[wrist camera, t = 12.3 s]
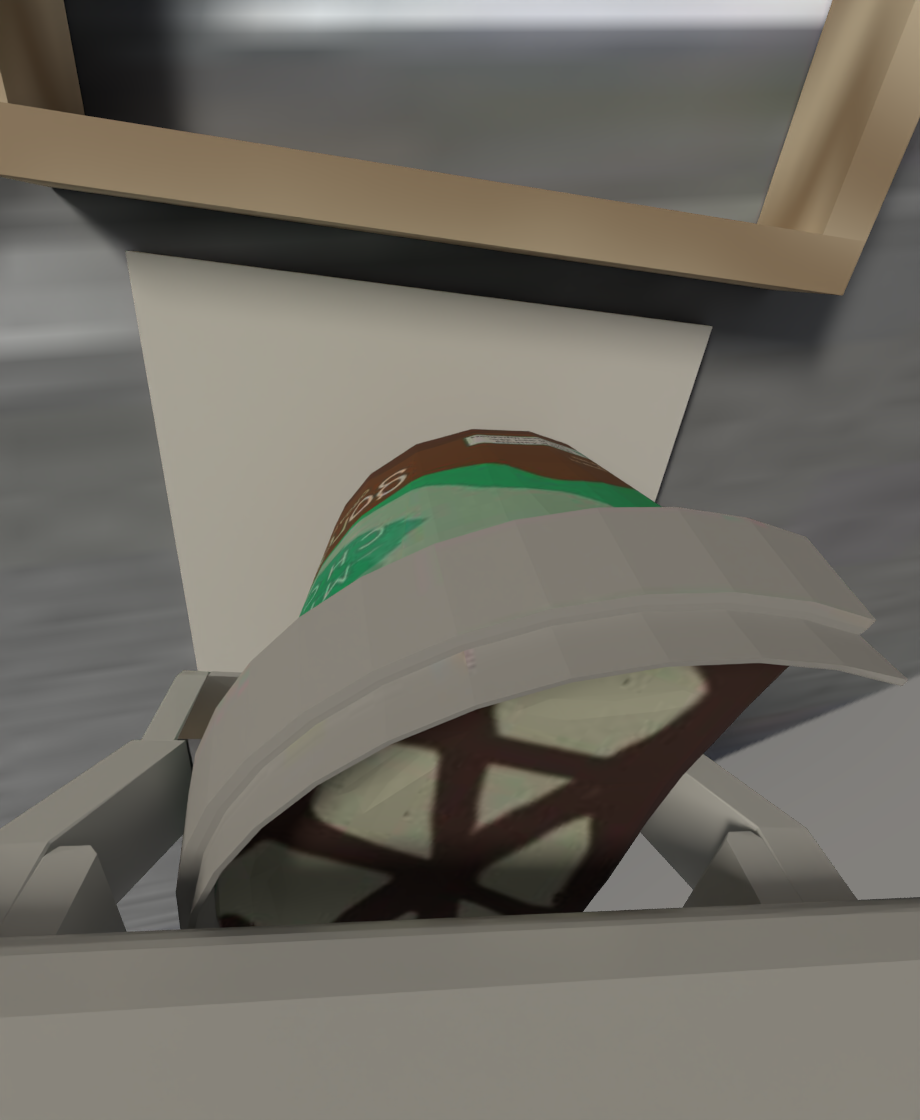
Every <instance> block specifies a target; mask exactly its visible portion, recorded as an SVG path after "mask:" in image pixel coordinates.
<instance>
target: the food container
mask: <svg viewBox="0 0 920 1120" xmlns="http://www.w3.org/2000/svg"><path fill="white" fill-rule="evenodd" d="M875 621H876V620H875V619H874V617H873V616H872V615H871V614H870V613H869V611H868V610H867V609H866V608H865V607H864V605H863V604H862V603H861V602H860V601H859V599H858V598H857V597H856V596H855V595H854V594H853V592H852V591H851V590H850V589H849V588H848V586H847V585H846V584H845V583H844V582H843V580H842V579H841V578H840V577H839V576H838V574H837V573H836V572H835V571H834V570H833V569H832V567H831V566H830V565H829V564H828V563H827V561H826V560H825V559H824V558H823V557H822V555H821V554H820V553H819V552H818V551H817V549H816V548H815V547H814V546H813V545H812V543H811V542H810V541H809V540H808V539H807V538H806V537H804V536H801V535H798V534H795V533H792V532H789V531H786V530H783V529H780V528H777V527H774V526H771V525H768V524H765V523H762V522H759V521H756V520H753V519H750V518H746V517H739V516H732V515H726V514H719V513H713V512H706V511H699V510H693V509H686V508H680V507H661V506H660V505H658V504H657V503H655V502H654V501H652V500H651V499H649V498H648V497H646V496H645V495H643V494H642V493H640V492H639V491H637V490H636V489H634V488H633V487H631V486H630V485H628V484H627V483H625V482H624V481H622V480H621V479H619V478H618V477H616V476H615V475H613V474H612V473H610V472H609V471H607V470H606V469H604V468H603V467H601V466H600V465H598V464H597V463H595V462H593V461H592V460H590V459H589V458H587V457H586V456H584V455H583V454H581V453H580V452H578V451H577V450H575V449H574V448H572V447H571V446H569V445H568V444H565V443H562V442H559V441H556V440H554V439H551V438H548V437H545V436H542V435H539V434H536V433H533V432H530V431H512V430H486V429H470V430H466V431H462V432H459V433H455V434H451V435H448V436H444V437H440V438H437V439H433V440H430V441H426V442H422V443H419V444H416V445H414V446H413V447H411V448H409V449H408V450H406V451H405V452H403V453H402V454H400V455H399V456H397V457H396V458H394V459H393V460H391V461H390V462H388V463H387V464H385V465H384V466H382V467H380V468H379V469H377V470H376V471H374V472H373V473H371V474H370V475H369V476H368V478H367V479H366V480H365V481H364V483H363V484H362V485H361V486H360V488H359V489H358V490H357V491H356V493H355V494H354V495H353V496H352V498H351V499H350V500H349V501H348V502H347V504H346V505H345V507H344V509H343V511H342V513H341V515H340V517H339V519H338V521H337V523H336V525H335V527H334V530H333V532H332V535H331V538H330V540H329V543H328V545H327V548H326V550H325V553H324V555H323V558H322V560H321V563H320V565H319V568H318V570H317V573H316V575H315V578H314V580H313V583H312V585H311V588H310V590H309V593H308V595H307V598H306V601H305V603H304V606H303V608H302V611H301V613H300V616H299V618H298V619H296V620H295V621H294V622H293V623H292V624H291V625H290V626H289V627H288V628H287V629H286V630H284V631H283V632H282V633H281V634H280V635H279V636H278V637H277V638H276V639H275V640H274V641H272V642H271V643H270V644H269V645H268V646H267V647H266V648H265V649H264V650H263V651H262V652H260V653H259V654H258V655H257V656H256V657H255V658H254V659H253V660H252V661H251V662H250V663H249V664H248V665H247V667H246V668H245V669H244V671H243V672H242V673H241V675H240V676H239V677H238V679H237V680H236V681H235V683H234V684H233V685H232V687H231V688H230V689H229V691H228V692H227V694H226V695H225V696H224V698H223V699H222V700H221V702H220V703H219V704H218V706H217V707H216V708H215V711H214V713H213V715H212V717H211V720H210V722H209V724H208V726H207V729H206V731H205V733H204V735H203V738H202V740H201V742H200V744H199V746H198V749H197V751H196V753H195V759H194V765H193V771H192V777H191V783H190V788H189V794H188V802H187V809H186V817H185V825H184V833H183V841H182V848H181V856H180V864H179V872H178V879H177V887H176V898H177V906H178V914H179V922H180V929H204V928H227V927H250V926H273V925H296V924H319V923H342V922H365V921H388V920H411V919H435V918H458V917H482V916H505V915H528V914H552V913H575V912H583V911H584V909H585V908H586V907H587V906H588V904H589V903H590V901H591V900H592V899H593V897H594V896H595V895H596V894H597V892H598V891H599V890H600V889H601V888H602V886H603V885H604V884H605V883H606V881H607V880H608V879H609V877H610V876H611V874H612V873H613V871H614V870H615V868H616V867H617V865H618V864H619V862H620V861H621V859H622V858H623V856H624V855H625V853H626V852H627V851H628V849H629V848H630V846H631V845H632V843H633V842H634V840H635V839H636V837H637V836H638V834H639V833H640V831H641V830H642V828H643V827H644V825H645V824H646V822H647V821H648V820H649V819H650V817H651V816H652V815H653V813H654V812H655V811H656V809H657V808H658V807H659V806H660V804H661V803H662V802H663V800H664V799H665V798H666V797H667V795H668V794H669V793H670V791H671V790H672V789H673V787H674V786H675V785H676V784H677V782H678V781H679V780H680V778H681V777H682V776H683V775H684V774H685V773H686V772H687V770H688V769H689V768H690V767H691V766H692V765H693V764H694V763H695V762H696V761H697V760H698V759H699V758H700V757H701V756H702V755H703V753H704V752H705V751H706V750H707V749H708V748H709V747H710V746H711V745H712V744H713V743H714V742H715V741H716V740H717V739H718V738H719V736H720V735H721V734H722V733H723V732H724V731H725V730H726V729H727V728H728V727H729V726H730V725H731V724H732V723H733V722H734V720H735V719H736V718H737V717H738V716H739V715H740V714H741V713H742V712H743V711H744V710H745V709H746V708H747V707H748V706H749V705H750V704H751V703H752V702H753V701H754V700H755V699H756V698H757V697H758V696H759V695H760V694H761V693H762V692H763V691H764V690H765V689H766V688H767V687H768V686H769V685H770V684H771V683H772V682H773V681H774V680H775V679H776V678H777V677H778V676H779V675H780V674H781V673H782V672H783V671H784V670H785V669H786V668H787V667H789V666H798V667H809V668H820V669H831V670H840V671H844V672H848V673H852V674H856V675H859V676H863V677H867V678H871V679H875V680H879V681H883V682H887V683H891V684H895V685H899V686H903V685H904V684H905V683H906V682H907V681H908V679H907V678H906V677H905V676H903V675H902V674H901V673H900V672H899V671H898V670H897V669H896V668H895V667H894V666H892V665H891V664H890V663H889V662H888V661H887V660H886V659H885V658H884V657H883V656H882V655H880V654H879V653H878V652H877V651H876V650H875V649H874V648H873V647H872V646H871V645H869V644H868V643H867V642H866V641H865V640H864V639H863V638H862V637H861V636H860V634H861V633H863V632H864V631H865V630H867V629H868V628H869V627H870V626H871V625H872V624H873V623H874V622H875Z"/></svg>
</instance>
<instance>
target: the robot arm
mask: <svg viewBox="0 0 920 1120" xmlns="http://www.w3.org/2000/svg"><path fill="white" fill-rule="evenodd" d="M240 675H241V673H240V672H218V671H212V672H204V671H185V670H183V671H182V672H181V673H180V674H178V675H177V676H176V678H175V680H174V682H173V683H172V685H171V687H170V689H169V691H168V692H167V694H166V696H165V698H164V700H163V701H162V703H161V705H160V707H159V709H158V710H157V712H156V714H155V716H154V718H153V720H152V721H151V723H150V725H149V727H148V729H147V730H146V732H145V734H144V736H143V738H142V739H141V740H131V741H130V742H129V743H127V744H126V745H124V746H123V747H121V748H120V749H118V750H117V751H115V752H114V753H112V754H111V755H109V756H108V757H106V758H105V759H103V760H102V761H100V762H99V763H97V764H96V765H94V766H93V767H91V768H90V769H88V770H87V771H85V772H84V773H82V774H81V775H79V776H78V777H76V778H75V779H74V780H72V781H71V782H69V783H68V784H66V785H65V786H63V787H62V788H60V789H59V790H57V791H56V792H54V793H53V794H51V795H50V796H48V797H47V798H45V799H44V800H42V801H41V802H39V803H38V804H36V805H35V806H33V807H32V808H30V809H29V810H27V811H26V812H24V813H23V814H22V815H20V816H19V817H17V818H16V819H14V820H13V821H11V822H10V823H8V824H7V825H5V826H4V827H2V828H1V829H0V1120H920V897H914V898H892V899H870V900H857V898H856V897H855V896H854V894H853V893H852V892H851V890H850V889H849V887H848V886H847V884H846V883H845V882H844V880H843V879H842V877H841V876H840V875H839V873H838V872H837V870H836V869H835V867H834V866H833V865H832V863H831V862H830V860H829V859H828V858H827V856H826V855H825V853H824V852H823V851H822V849H821V848H820V846H819V845H818V844H817V842H816V841H815V839H814V838H813V837H812V835H811V834H810V832H809V831H808V829H807V828H805V827H804V826H803V825H801V824H800V823H798V822H797V821H796V820H794V819H793V818H792V817H790V816H789V815H787V814H786V813H785V812H783V811H782V810H780V809H779V808H778V807H776V806H775V805H773V804H772V803H771V802H769V801H768V800H766V799H765V798H764V797H762V796H761V795H760V794H758V793H757V792H755V791H754V790H753V789H751V788H750V787H748V786H747V785H746V784H744V783H743V782H741V781H740V780H739V779H737V778H736V777H734V776H733V775H732V774H730V773H729V772H728V771H726V770H725V769H723V768H722V767H721V766H719V765H718V764H716V763H715V762H714V761H712V760H711V759H709V758H708V757H707V756H705V755H704V754H703V755H702V756H701V757H700V758H699V759H698V760H697V761H696V762H695V763H694V764H693V765H692V766H691V767H690V768H689V769H688V770H687V772H686V773H685V774H684V775H683V776H682V777H681V778H680V780H679V781H678V782H677V784H676V785H675V786H674V787H673V789H672V790H671V791H670V793H669V794H668V795H667V797H666V798H665V799H664V800H663V802H662V803H661V804H660V806H659V807H658V808H657V809H656V811H655V812H654V813H653V815H652V816H651V817H650V819H649V820H648V821H647V822H646V824H645V825H644V827H643V828H642V830H641V831H640V832H641V833H642V834H643V835H644V837H645V838H646V839H647V840H648V841H649V842H650V843H651V844H652V845H653V846H654V847H655V848H656V850H657V851H658V852H659V853H660V854H661V855H662V856H663V857H664V858H665V859H666V860H667V862H668V863H669V864H670V865H671V866H672V867H673V868H674V869H675V870H676V871H677V872H678V873H679V874H680V876H681V877H682V878H683V879H684V880H685V881H686V882H687V883H688V884H689V885H690V887H691V888H692V889H693V892H692V893H691V895H690V896H689V898H688V900H687V901H686V903H685V905H684V906H683V908H666V909H643V910H621V911H598V912H575V913H552V914H528V915H505V916H482V917H458V918H435V919H411V920H388V921H365V922H342V923H319V924H296V925H273V926H250V927H227V928H204V929H181V930H158V931H135V932H127V931H126V929H125V926H124V924H123V921H122V918H121V916H120V913H119V911H118V908H117V905H116V904H117V903H118V902H119V901H120V900H121V899H122V898H123V897H124V896H125V895H126V893H127V892H128V891H129V890H130V889H131V888H132V887H133V886H134V885H135V884H136V883H137V882H138V881H139V880H140V879H141V878H142V877H143V876H144V875H145V874H146V873H147V871H148V870H149V869H150V868H151V867H152V866H153V865H154V864H155V863H156V862H157V861H158V860H159V859H160V858H161V857H162V856H163V855H164V854H165V853H166V852H167V850H168V849H169V848H170V847H171V846H172V845H173V844H174V843H175V842H176V841H177V840H178V839H179V838H180V837H181V836H182V835H183V833H184V825H185V817H186V809H187V802H188V794H189V788H190V783H191V777H192V771H193V765H194V759H195V753H196V751H197V749H198V746H199V744H200V742H201V740H202V738H203V735H204V733H205V731H206V729H207V726H208V724H209V722H210V720H211V717H212V715H213V713H214V711H215V708H216V707H217V706H218V704H219V703H220V702H221V700H222V699H223V698H224V696H225V695H226V694H227V692H228V691H229V689H230V688H231V687H232V685H233V684H234V683H235V681H236V680H237V679H238V677H239V676H240Z"/></svg>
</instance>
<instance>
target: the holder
mask: <svg viewBox="0 0 920 1120" xmlns="http://www.w3.org/2000/svg"><path fill="white" fill-rule="evenodd" d="M919 118H920V0H833V1H832V4H831V7H830V10H829V13H828V16H827V19H826V21H825V24H824V27H823V30H822V33H821V36H820V39H819V42H818V45H817V48H816V51H815V54H814V57H813V60H812V63H811V66H810V69H809V72H808V75H807V78H806V81H805V84H804V87H803V90H802V92H801V95H800V98H799V101H798V104H797V107H796V110H795V113H794V116H793V119H792V122H791V125H790V128H789V131H788V134H787V137H786V140H785V143H784V146H783V149H782V152H781V155H780V158H779V161H778V163H777V166H776V169H775V172H774V175H773V178H772V181H771V184H770V187H769V190H768V193H767V196H766V199H765V202H764V205H763V208H762V211H761V214H760V217H759V220H758V223H757V224H754V223H748V222H742V221H736V220H729V219H723V218H717V217H711V216H705V215H698V214H692V213H686V212H680V211H674V210H667V209H661V208H655V207H649V206H643V205H636V204H630V203H624V202H618V201H612V200H606V199H599V198H593V197H587V196H581V195H575V194H568V193H562V192H556V191H550V190H544V189H537V188H531V187H525V186H519V185H513V184H506V183H500V182H494V181H488V180H482V179H475V178H469V177H463V176H457V175H451V174H444V173H438V172H432V171H426V170H420V169H413V168H407V167H401V166H395V165H389V164H382V163H376V162H370V161H364V160H358V159H351V158H345V157H339V156H333V155H327V154H320V153H314V152H308V151H302V150H296V149H289V148H283V147H277V146H271V145H265V144H258V143H252V142H246V141H240V140H234V139H227V138H221V137H215V136H209V135H203V134H196V133H190V132H184V131H178V130H172V129H165V128H159V127H153V126H147V125H141V124H135V123H128V122H122V121H116V120H110V119H104V118H97V117H91V116H85V113H84V108H83V102H82V97H81V92H80V86H79V81H78V76H77V70H76V65H75V59H74V54H73V49H72V43H71V38H70V32H69V27H68V22H67V16H66V11H65V6H64V0H0V177H4V178H9V179H13V180H18V181H23V182H28V183H33V184H37V185H42V186H47V187H53V188H61V189H68V190H75V191H82V192H89V193H96V194H103V195H110V196H117V197H124V198H131V199H138V200H145V201H152V202H159V203H166V204H173V205H180V206H187V207H194V208H201V209H208V210H215V211H222V212H229V213H236V214H243V215H250V216H257V217H264V218H271V219H278V220H285V221H292V222H299V223H306V224H313V225H320V226H327V227H334V228H341V229H348V230H355V231H362V232H369V233H377V234H384V235H391V236H398V237H405V238H412V239H419V240H426V241H433V242H440V243H447V244H454V245H461V246H468V247H475V248H482V249H489V250H496V251H503V252H510V253H517V254H524V255H531V256H538V257H545V258H552V259H559V260H566V261H573V262H580V263H587V264H594V265H601V266H608V267H615V268H622V269H629V270H636V271H643V272H650V273H657V274H664V275H671V276H678V277H685V278H693V279H700V280H707V281H714V282H721V283H728V284H735V285H742V286H749V287H756V288H763V289H770V290H781V291H793V292H806V293H819V294H831V295H843V294H844V291H845V289H846V287H847V284H848V282H849V280H850V277H851V275H852V273H853V271H854V268H855V266H856V264H857V261H858V259H859V257H860V254H861V252H862V250H863V247H864V245H865V243H866V240H867V238H868V236H869V233H870V231H871V229H872V227H873V224H874V222H875V220H876V217H877V215H878V213H879V210H880V208H881V206H882V203H883V201H884V199H885V196H886V194H887V192H888V189H889V187H890V185H891V182H892V180H893V178H894V176H895V173H896V171H897V169H898V166H899V164H900V162H901V159H902V157H903V155H904V152H905V150H906V148H907V145H908V143H909V141H910V138H911V136H912V134H913V132H914V129H915V127H916V125H917V122H918V120H919Z"/></svg>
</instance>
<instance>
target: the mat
mask: <svg viewBox="0 0 920 1120" xmlns="http://www.w3.org/2000/svg"><path fill="white" fill-rule="evenodd" d="M125 252H126V258H127V264H128V270H129V275H130V281H131V287H132V293H133V299H134V304H135V310H136V316H137V322H138V327H139V333H140V339H141V345H142V351H143V356H144V362H145V368H146V374H147V379H148V385H149V391H150V397H151V402H152V408H153V414H154V420H155V426H156V431H157V437H158V443H159V449H160V454H161V460H162V466H163V472H164V477H165V483H166V489H167V495H168V501H169V506H170V512H171V518H172V524H173V529H174V535H175V541H176V547H177V553H178V558H179V564H180V570H181V576H182V581H183V587H184V593H185V599H186V604H187V610H188V616H189V622H190V628H191V633H192V639H193V645H194V651H195V656H196V662H197V668H198V671H204V672H212V671H218V672H240V673H242V672H243V671H244V669H245V668H246V667H247V665H248V664H249V663H250V662H251V661H252V660H253V659H254V658H255V657H256V656H257V655H258V654H259V653H260V652H262V651H263V650H264V649H265V648H266V647H267V646H268V645H269V644H270V643H271V642H272V641H274V640H275V639H276V638H277V637H278V636H279V635H280V634H281V633H282V632H283V631H284V630H286V629H287V628H288V627H289V626H290V625H291V624H292V623H293V622H294V621H295V620H296V619H298V618H299V616H300V613H301V611H302V608H303V606H304V603H305V601H306V598H307V595H308V593H309V590H310V588H311V585H312V583H313V580H314V578H315V575H316V573H317V570H318V568H319V565H320V563H321V560H322V558H323V555H324V553H325V550H326V548H327V545H328V543H329V540H330V538H331V535H332V532H333V530H334V527H335V525H336V523H337V521H338V519H339V517H340V515H341V513H342V511H343V509H344V507H345V505H346V504H347V502H348V501H349V500H350V499H351V498H352V496H353V495H354V494H355V493H356V491H357V490H358V489H359V488H360V486H361V485H362V484H363V483H364V481H365V480H366V479H367V478H368V476H369V475H370V474H371V473H373V472H374V471H376V470H377V469H379V468H380V467H382V466H384V465H385V464H387V463H388V462H390V461H391V460H393V459H394V458H396V457H397V456H399V455H400V454H402V453H403V452H405V451H406V450H408V449H409V448H411V447H413V446H414V445H416V444H419V443H422V442H426V441H430V440H433V439H437V438H440V437H444V436H448V435H451V434H455V433H459V432H462V431H466V430H470V429H486V430H512V431H530V432H533V433H536V434H539V435H542V436H545V437H548V438H551V439H554V440H556V441H559V442H562V443H565V444H568V445H569V446H571V447H572V448H574V449H575V450H577V451H578V452H580V453H581V454H583V455H584V456H586V457H587V458H589V459H590V460H592V461H593V462H595V463H597V464H598V465H600V466H601V467H603V468H604V469H606V470H607V471H609V472H610V473H612V474H613V475H615V476H616V477H618V478H619V479H621V480H622V481H624V482H625V483H627V484H628V485H630V486H631V487H633V488H634V489H636V490H637V491H639V492H640V493H642V494H643V495H645V496H646V497H648V498H649V499H651V500H652V501H654V502H655V500H656V497H657V494H658V491H659V488H660V485H661V482H662V479H663V476H664V473H665V470H666V467H667V463H668V460H669V457H670V454H671V451H672V448H673V445H674V442H675V439H676V436H677V433H678V430H679V427H680V424H681V421H682V418H683V415H684V412H685V409H686V406H687V403H688V400H689V397H690V394H691V391H692V388H693V385H694V382H695V378H696V375H697V372H698V369H699V366H700V363H701V360H702V357H703V354H704V351H705V348H706V345H707V342H708V339H709V336H710V333H711V330H712V326H707V325H701V324H694V323H686V322H678V321H670V320H663V319H655V318H647V317H639V316H632V315H624V314H616V313H608V312H601V311H593V310H585V309H578V308H570V307H562V306H554V305H547V304H539V303H531V302H523V301H516V300H508V299H500V298H492V297H485V296H477V295H469V294H462V293H454V292H446V291H438V290H431V289H423V288H415V287H407V286H400V285H392V284H384V283H376V282H369V281H361V280H353V279H346V278H338V277H330V276H322V275H315V274H307V273H299V272H291V271H284V270H276V269H268V268H260V267H253V266H245V265H237V264H230V263H222V262H214V261H206V260H199V259H191V258H183V257H175V256H168V255H160V254H152V253H144V252H137V251H125Z"/></svg>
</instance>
